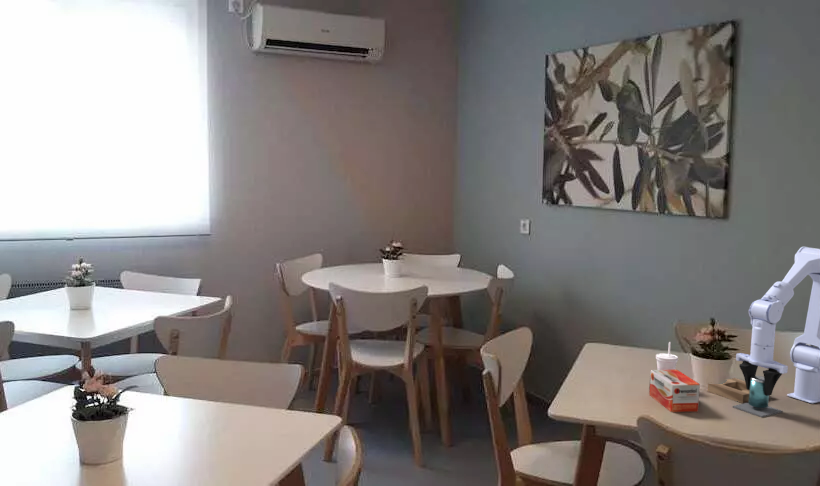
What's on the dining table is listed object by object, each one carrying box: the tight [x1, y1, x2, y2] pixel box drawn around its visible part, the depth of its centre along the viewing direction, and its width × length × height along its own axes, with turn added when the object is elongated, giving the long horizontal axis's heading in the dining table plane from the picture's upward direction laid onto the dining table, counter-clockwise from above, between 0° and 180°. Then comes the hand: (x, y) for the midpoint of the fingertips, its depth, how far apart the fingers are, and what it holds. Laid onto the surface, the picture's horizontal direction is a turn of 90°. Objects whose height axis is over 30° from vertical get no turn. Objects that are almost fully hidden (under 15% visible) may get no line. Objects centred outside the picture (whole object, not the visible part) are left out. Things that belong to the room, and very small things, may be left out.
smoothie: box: [655, 341, 679, 370], centre depth 227 cm, size 6×6×14 cm
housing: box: [707, 377, 771, 404], centre depth 222 cm, size 12×12×2 cm
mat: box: [732, 402, 784, 418], centre depth 209 cm, size 9×9×1 cm
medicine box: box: [648, 369, 701, 413], centre depth 213 cm, size 15×8×8 cm, turn 6°
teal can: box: [747, 375, 770, 408], centre depth 208 cm, size 5×5×8 cm
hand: (758, 392), depth 208 cm, fingers closed on teal can, 5 cm apart
